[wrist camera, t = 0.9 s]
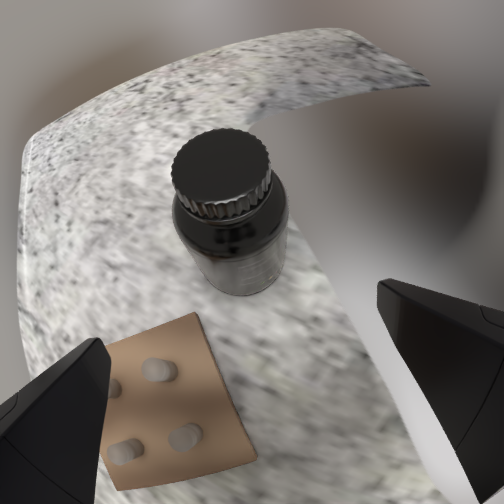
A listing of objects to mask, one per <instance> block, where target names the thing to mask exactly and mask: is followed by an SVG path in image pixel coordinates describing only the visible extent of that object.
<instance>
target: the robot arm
mask: <svg viewBox="0 0 504 504" xmlns="http://www.w3.org/2000/svg"><path fill="white" fill-rule="evenodd" d="M377 308H378V311H379V313H380V315H381V317H382V319H383V321H384V323H385V325H386V328H387V330H388V332H389V334H390V336H391V338H392V340H393V342H394V344H395V346H396V348H397V350H398V352H399V353H400V355H401V356H402V358H403V360H404V361H405V363H406V364H407V366H408V368H409V370H410V371H411V373H412V375H413V376H414V378H415V380H416V381H417V383H418V385H419V387H420V388H421V390H422V392H423V393H424V395H425V397H426V399H427V401H428V402H429V404H430V406H431V408H432V409H433V411H434V413H435V415H436V417H437V419H438V420H439V422H440V424H441V426H442V428H443V430H444V431H445V433H446V435H447V437H448V439H449V441H450V443H451V445H452V447H453V449H454V450H455V453H456V455H457V457H458V459H459V461H460V463H461V465H462V467H463V469H464V471H465V474H466V476H467V478H468V480H469V482H470V484H471V486H472V488H473V491H474V493H475V495H476V497H477V500H478V501H479V503H480V504H483V503H484V502H486V501H487V500H489V499H490V498H491V497H493V496H494V495H496V494H497V493H498V492H500V491H501V490H502V489H504V312H503V311H500V310H496V309H493V308H489V307H486V306H483V305H480V306H479V305H478V304H476V303H472V302H469V301H466V300H462V299H459V298H455V297H452V296H449V295H445V294H442V293H438V292H435V291H432V290H429V289H425V288H422V287H418V286H415V285H412V284H408V283H405V282H401V281H398V280H394V279H391V278H389V279H385V280H381V281H379V282H378V285H377ZM111 364H112V362H111V357H110V355H109V353H108V351H107V349H106V347H105V346H104V344H103V342H102V340H101V339H100V338H98V337H95V338H89V339H87V340H85V341H84V342H83V343H81V344H80V345H79V346H77V347H76V348H75V349H73V350H72V351H71V352H69V353H68V354H67V355H65V356H64V357H63V358H61V359H60V360H59V361H57V362H56V363H55V364H53V365H52V366H51V367H49V368H48V369H47V370H45V371H44V372H43V373H42V374H40V375H39V376H38V377H36V378H35V379H34V380H32V381H31V382H30V383H28V384H27V385H26V386H25V387H23V388H22V389H21V390H19V392H17V393H15V395H13V396H12V397H10V398H9V399H8V400H6V401H5V402H4V403H2V404H1V405H0V504H94V498H95V487H96V477H97V468H98V460H99V452H100V445H101V438H102V432H103V426H104V420H105V414H106V409H107V403H108V395H109V383H110V373H111Z"/></svg>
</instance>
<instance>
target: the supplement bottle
mask: <svg viewBox="0 0 504 504" xmlns="http://www.w3.org/2000/svg"><path fill="white" fill-rule="evenodd" d="M171 168H172V172H171V177H172V184H173V186H174V188H175V190H176V193H175V196H174V199H173V204H172V219H173V223H174V227H175V229H176V232H177V234H178V235H179V237H180V239H181V241H182V242H183V244H184V245H185V247H186V248H187V250H188V251H189V253H190V254H191V256H192V258H193V259H194V261H195V262H196V264H197V265H198V267H199V268H200V270H201V271H202V273H203V274H204V275H205V277H206V278H207V279H208V281H209V282H210V283H211V284H212V285H213V286H215V287H216V288H217V289H219V290H221V291H223V292H225V293H228V294H232V295H250V294H254V293H257V292H259V291H261V290H263V289H265V288H266V287H268V286H269V285H270V284H271V283H272V282H273V281H274V280H275V279H276V278H277V276H278V275H279V273H280V271H281V269H282V266H283V263H284V257H285V249H286V239H287V228H288V216H289V199H288V194H287V190H286V188H285V185H284V183H283V181H282V180H281V178H280V177H279V176H278V175H277V173H276V172H274V170H273V169H271V162H270V156H269V153H268V152H267V149H266V146H264V145H263V144H262V142H261V140H259V139H257V138H256V137H255V136H254V135H250V134H249V133H248V132H243V131H242V130H235V129H232V128H229V129H224V128H221V129H218V130H217V129H213V130H211V131H208V132H204V133H202V134H200V135H197V136H196V137H194V138H193V139H191V140H189V141H188V142H187V143H186V144H185V145H183V146H182V148H181V150H179V151H178V152H177V156H176V157H175V158H174V163H173V164H172V166H171Z"/></svg>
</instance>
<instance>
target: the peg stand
mask: <svg viewBox="0 0 504 504" xmlns="http://www.w3.org/2000/svg"><path fill="white" fill-rule="evenodd" d="M105 347H106V349H107V351H108V353H109V355H110V357H111V362H112V364H111V373H110V383H109V395H108V403H107V409H106V414H105V420H104V426H103V432H102V438H101V445H100V454H101V456H102V459H103V461H104V464H105V466H106V468H107V470H108V473H109V475H110V477H111V479H112V481H113V483H114V486H115V488H116V490H117V491H122V490H130V489H138V488H145V487H152V486H158V485H163V484H169V483H174V482H179V481H184V480H188V479H193V478H197V477H201V476H205V475H209V474H213V473H216V472H220V471H224V470H227V469H230V468H234V467H237V466H240V465H243V464H246V463H250V462H253V461H255V460H257V455H256V453H255V451H254V449H253V446H252V444H251V442H250V440H249V438H248V436H247V434H246V431H245V429H244V427H243V425H242V423H241V420H240V418H239V416H238V414H237V411H236V409H235V407H234V404H233V402H232V400H231V398H230V395H229V393H228V391H227V388H226V386H225V383H224V381H223V379H222V376H221V374H220V371H219V369H218V366H217V364H216V361H215V359H214V356H213V354H212V351H211V349H210V346H209V344H208V341H207V338H206V336H205V333H204V330H203V328H202V325H201V322H200V320H199V317H198V315H197V314H196V313H195V312H193V313H190V314H188V315H185V316H183V317H180V318H178V319H175V320H173V321H170V322H167V323H165V324H162V325H160V326H157V327H154V328H152V329H149V330H147V331H144V332H141V333H139V334H136V335H133V336H131V337H128V338H125V339H123V340H120V341H117V342H115V343H112V344H109V345H106V346H105Z"/></svg>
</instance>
